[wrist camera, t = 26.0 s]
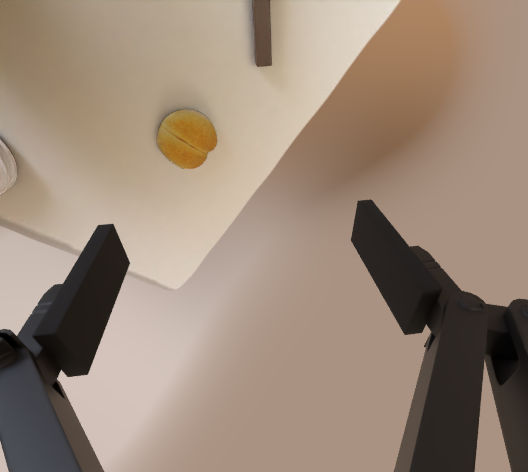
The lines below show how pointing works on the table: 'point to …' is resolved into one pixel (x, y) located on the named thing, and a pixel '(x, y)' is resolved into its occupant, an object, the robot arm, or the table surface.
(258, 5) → the brown orange rod
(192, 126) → the bread roll
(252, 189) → the table surface
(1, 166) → the lid
